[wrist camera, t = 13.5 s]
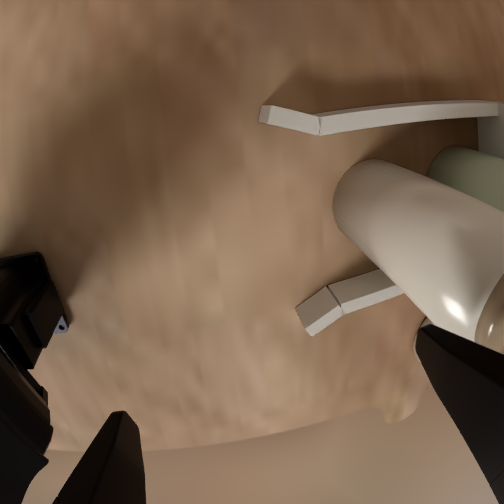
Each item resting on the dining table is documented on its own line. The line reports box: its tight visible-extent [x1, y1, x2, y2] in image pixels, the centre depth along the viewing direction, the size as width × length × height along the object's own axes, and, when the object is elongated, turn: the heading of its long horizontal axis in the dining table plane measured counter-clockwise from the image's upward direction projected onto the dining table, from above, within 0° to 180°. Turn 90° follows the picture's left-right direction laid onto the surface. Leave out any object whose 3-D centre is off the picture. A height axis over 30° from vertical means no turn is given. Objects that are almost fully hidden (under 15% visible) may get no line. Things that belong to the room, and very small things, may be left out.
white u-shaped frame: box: [258, 100, 504, 337], centre depth 19 cm, size 19×15×4 cm
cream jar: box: [333, 159, 504, 354], centre depth 15 cm, size 6×6×14 cm
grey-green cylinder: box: [427, 145, 504, 212], centre depth 18 cm, size 6×6×9 cm
